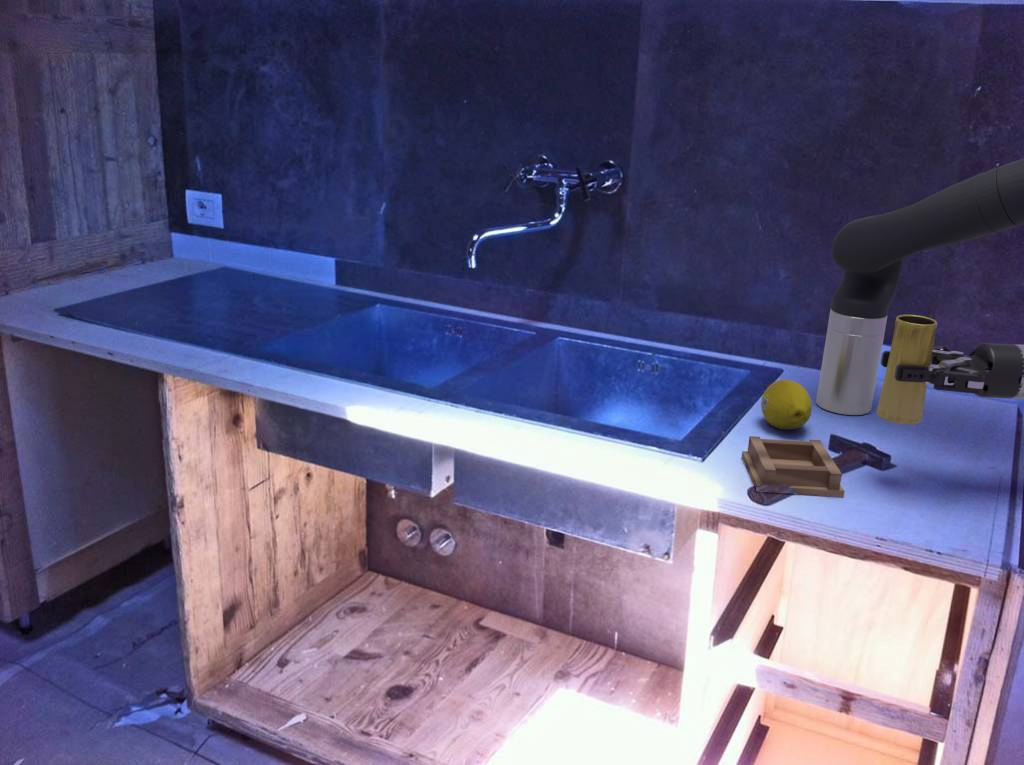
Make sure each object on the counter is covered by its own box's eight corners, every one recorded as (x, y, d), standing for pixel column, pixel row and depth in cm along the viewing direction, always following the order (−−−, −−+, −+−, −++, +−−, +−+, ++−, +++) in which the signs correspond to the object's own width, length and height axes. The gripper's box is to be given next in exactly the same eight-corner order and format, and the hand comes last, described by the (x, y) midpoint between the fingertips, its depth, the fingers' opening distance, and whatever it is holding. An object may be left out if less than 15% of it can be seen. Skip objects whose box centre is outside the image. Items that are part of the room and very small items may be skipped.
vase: (922, 427, 129) (941, 328, 124) (875, 420, 131) (892, 322, 126) (921, 413, 134) (940, 316, 129) (876, 406, 136) (892, 311, 131)
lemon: (755, 414, 160) (761, 370, 157) (802, 418, 159) (809, 373, 156) (762, 438, 149) (768, 391, 147) (812, 443, 148) (819, 396, 146)
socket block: (741, 457, 142) (744, 435, 141) (821, 461, 142) (825, 440, 140) (756, 492, 131) (759, 469, 130) (843, 497, 130) (847, 474, 129)
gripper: (996, 330, 135) (877, 325, 135) (1044, 362, 121) (911, 355, 122) (986, 379, 137) (868, 374, 138) (1031, 416, 124) (901, 409, 124)
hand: (889, 365), depth 130 cm, fingers closed on vase, 5 cm apart
